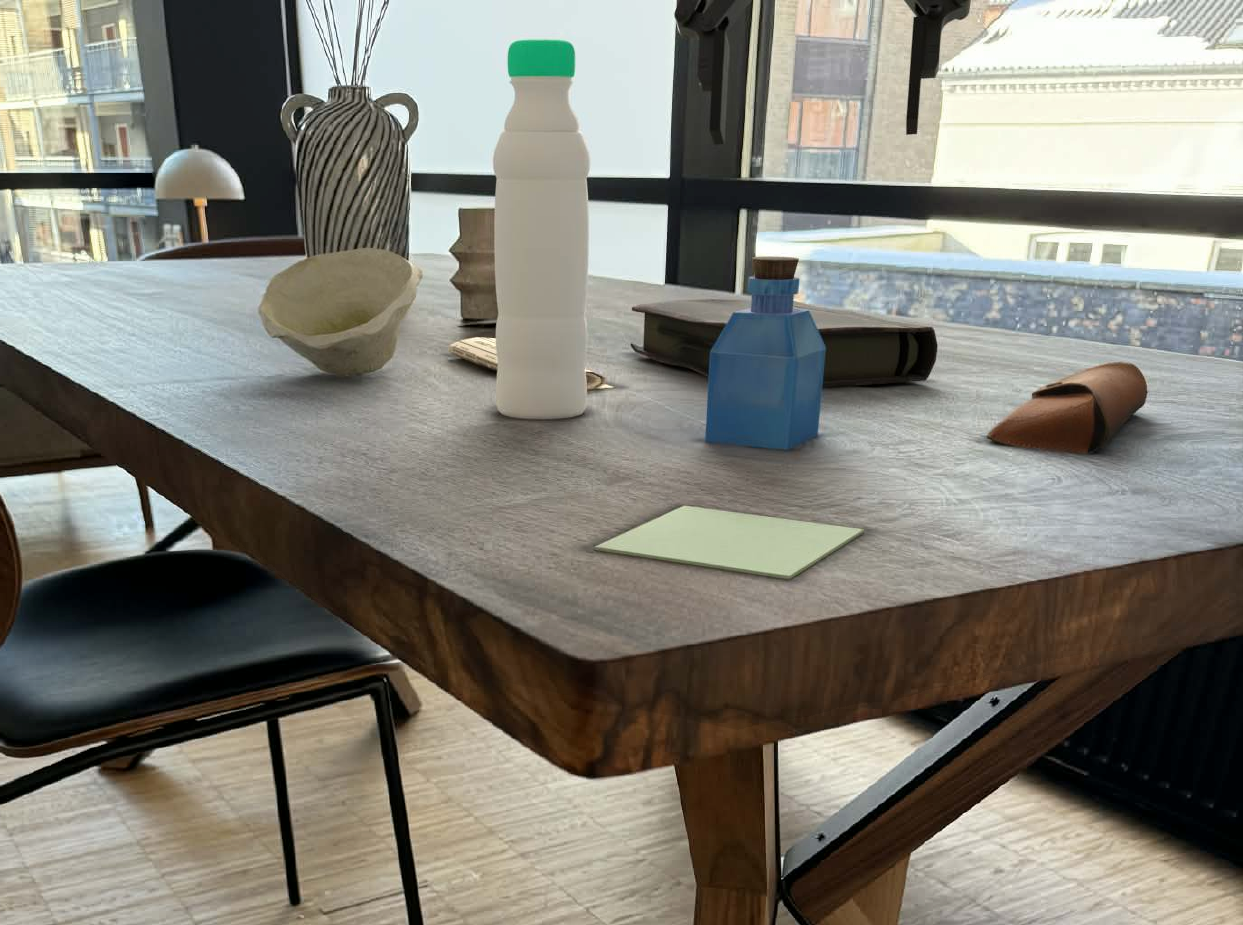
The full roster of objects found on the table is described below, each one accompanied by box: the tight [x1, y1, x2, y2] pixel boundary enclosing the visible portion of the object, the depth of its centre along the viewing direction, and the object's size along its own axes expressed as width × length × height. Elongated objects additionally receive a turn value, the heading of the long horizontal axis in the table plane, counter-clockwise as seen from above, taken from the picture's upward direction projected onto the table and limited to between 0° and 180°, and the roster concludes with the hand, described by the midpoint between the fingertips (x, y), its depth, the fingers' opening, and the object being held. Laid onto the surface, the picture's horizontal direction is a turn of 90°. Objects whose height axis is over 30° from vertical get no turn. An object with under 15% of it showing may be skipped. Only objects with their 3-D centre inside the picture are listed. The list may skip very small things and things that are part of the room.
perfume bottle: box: [704, 255, 826, 451], centre depth 100 cm, size 6×6×12 cm
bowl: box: [257, 247, 424, 377], centre depth 128 cm, size 15×14×10 cm
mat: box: [594, 505, 865, 580], centre depth 77 cm, size 11×11×1 cm
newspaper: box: [448, 336, 616, 390], centre depth 130 cm, size 24×7×2 cm, turn 23°
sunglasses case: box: [986, 361, 1148, 455], centre depth 106 cm, size 18×7×7 cm, turn 152°
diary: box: [629, 298, 938, 388], centre depth 132 cm, size 19×25×5 cm
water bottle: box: [492, 38, 591, 420], centre depth 106 cm, size 7×7×25 cm
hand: (812, 133), depth 101 cm, fingers open, 13 cm apart
